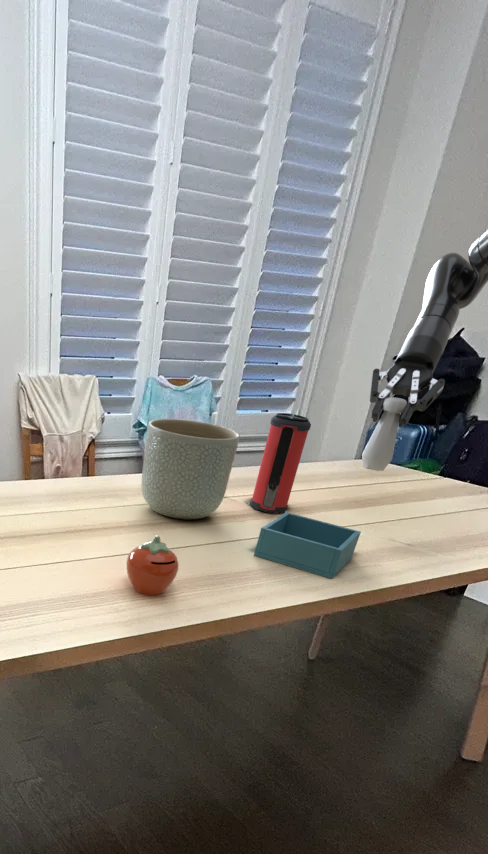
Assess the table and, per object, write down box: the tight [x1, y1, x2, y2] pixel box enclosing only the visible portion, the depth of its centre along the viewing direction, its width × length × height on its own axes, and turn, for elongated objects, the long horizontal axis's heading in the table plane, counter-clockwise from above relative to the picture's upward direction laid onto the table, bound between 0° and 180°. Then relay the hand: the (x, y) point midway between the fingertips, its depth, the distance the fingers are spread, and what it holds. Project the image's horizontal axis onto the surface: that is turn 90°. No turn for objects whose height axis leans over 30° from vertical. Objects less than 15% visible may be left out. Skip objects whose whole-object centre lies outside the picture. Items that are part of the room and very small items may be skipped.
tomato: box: [126, 535, 180, 597], centre depth 89 cm, size 7×7×8 cm
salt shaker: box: [361, 396, 408, 472], centre depth 126 cm, size 6×6×13 cm
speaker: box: [249, 412, 312, 515], centre depth 129 cm, size 8×8×18 cm
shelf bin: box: [253, 511, 362, 579], centre depth 109 cm, size 14×14×5 cm
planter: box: [140, 418, 241, 521], centre depth 121 cm, size 17×17×15 cm
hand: (387, 421), depth 123 cm, fingers closed on salt shaker, 4 cm apart
